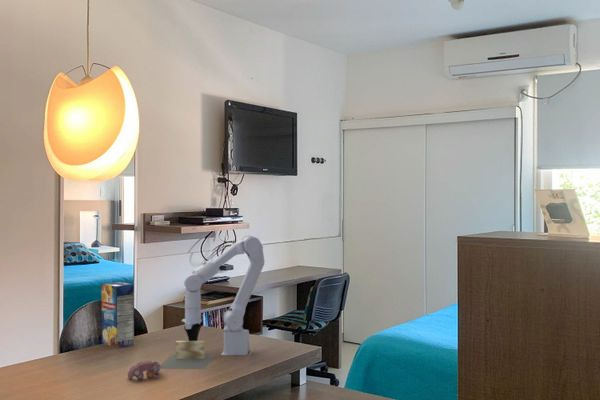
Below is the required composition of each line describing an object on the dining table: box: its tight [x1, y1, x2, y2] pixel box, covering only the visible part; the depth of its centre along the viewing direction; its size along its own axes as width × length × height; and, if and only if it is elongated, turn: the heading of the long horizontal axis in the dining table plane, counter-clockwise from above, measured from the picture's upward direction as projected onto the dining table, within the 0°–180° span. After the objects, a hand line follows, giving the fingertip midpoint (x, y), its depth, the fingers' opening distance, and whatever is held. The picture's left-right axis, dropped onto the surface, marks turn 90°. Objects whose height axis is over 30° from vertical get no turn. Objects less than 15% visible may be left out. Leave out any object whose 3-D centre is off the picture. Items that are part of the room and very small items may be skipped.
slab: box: [175, 340, 206, 359], centre depth 205 cm, size 10×2×6 cm, turn 87°
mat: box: [160, 354, 216, 370], centre depth 201 cm, size 16×18×1 cm
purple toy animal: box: [127, 359, 162, 380], centre depth 184 cm, size 10×5×7 cm, turn 122°
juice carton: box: [101, 281, 135, 349], centre depth 230 cm, size 12×8×24 cm, turn 47°
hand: (193, 344), depth 210 cm, fingers closed
